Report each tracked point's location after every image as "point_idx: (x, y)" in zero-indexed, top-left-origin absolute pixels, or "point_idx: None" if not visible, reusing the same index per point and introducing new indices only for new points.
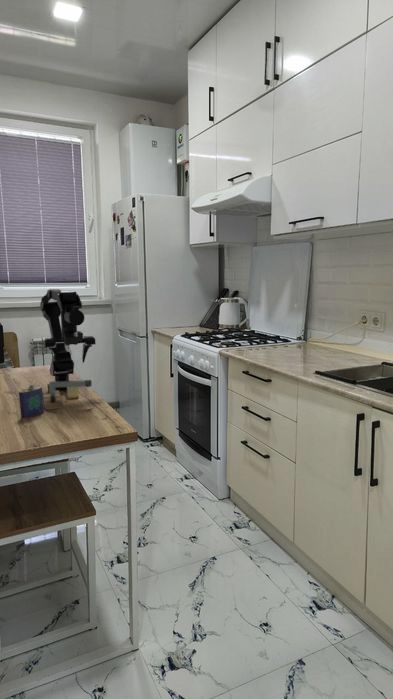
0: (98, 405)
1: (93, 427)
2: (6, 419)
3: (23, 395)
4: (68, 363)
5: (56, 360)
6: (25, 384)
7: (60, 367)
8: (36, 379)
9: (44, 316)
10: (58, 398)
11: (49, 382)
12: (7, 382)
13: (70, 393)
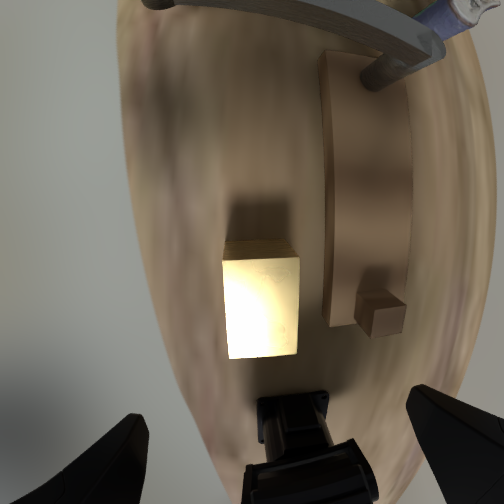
0: (143, 51)
1: None
2: (472, 43)
3: None
4: (279, 499)
5: (366, 500)
6: (388, 461)
7: (331, 470)
8: None
9: None
10: (346, 136)
11: (442, 42)
12: (415, 470)
13: (273, 245)
